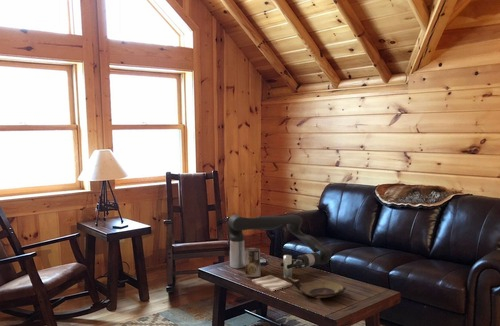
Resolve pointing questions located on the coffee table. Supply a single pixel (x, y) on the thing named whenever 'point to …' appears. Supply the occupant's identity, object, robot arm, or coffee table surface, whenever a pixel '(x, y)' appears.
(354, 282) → the coffee table surface
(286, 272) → the metal tin
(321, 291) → the oil lamp
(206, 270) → the coffee table surface
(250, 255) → the coffee box
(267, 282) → the ash board
